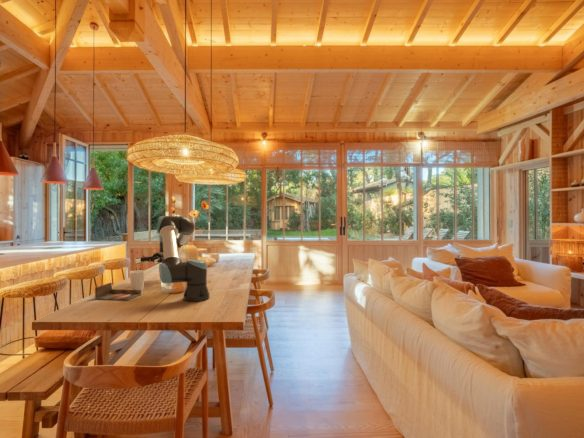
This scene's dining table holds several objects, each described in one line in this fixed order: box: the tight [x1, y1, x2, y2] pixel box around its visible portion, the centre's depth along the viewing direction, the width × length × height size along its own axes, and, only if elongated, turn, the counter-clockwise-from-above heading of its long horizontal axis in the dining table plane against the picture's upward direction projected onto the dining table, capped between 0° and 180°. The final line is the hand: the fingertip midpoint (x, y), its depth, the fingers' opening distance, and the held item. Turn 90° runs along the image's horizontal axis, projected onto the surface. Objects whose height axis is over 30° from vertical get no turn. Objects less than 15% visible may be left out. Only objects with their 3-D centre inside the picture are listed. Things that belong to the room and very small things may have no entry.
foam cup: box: [129, 269, 147, 293], centre depth 215 cm, size 10×9×13 cm
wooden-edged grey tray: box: [94, 282, 142, 302], centre depth 199 cm, size 20×14×7 cm
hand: (144, 261), depth 224 cm, fingers open, 13 cm apart
